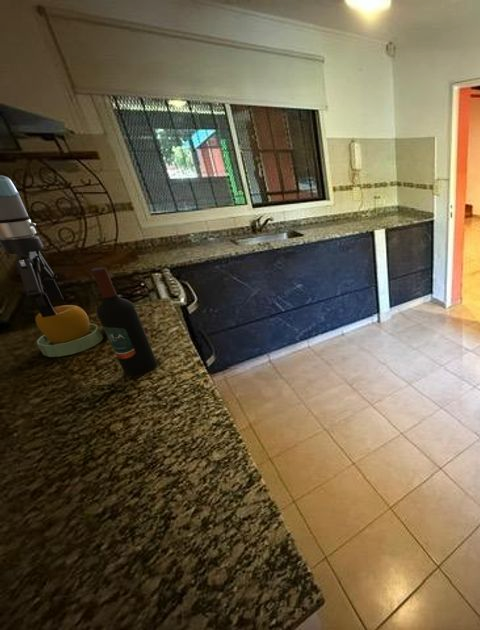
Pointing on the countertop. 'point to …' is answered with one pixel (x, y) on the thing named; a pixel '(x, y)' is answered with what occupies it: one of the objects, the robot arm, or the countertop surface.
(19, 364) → the countertop surface
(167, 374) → the countertop surface
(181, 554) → the countertop surface
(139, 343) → the wine bottle
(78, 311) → the apple
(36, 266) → the robot arm
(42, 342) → the bowl
